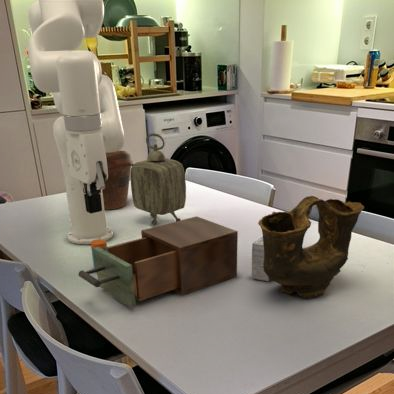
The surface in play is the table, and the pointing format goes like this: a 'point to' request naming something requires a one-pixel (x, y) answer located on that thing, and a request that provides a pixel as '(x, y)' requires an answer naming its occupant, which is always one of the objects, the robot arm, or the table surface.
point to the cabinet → (199, 251)
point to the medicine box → (258, 261)
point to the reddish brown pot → (117, 179)
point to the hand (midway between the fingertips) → (94, 211)
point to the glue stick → (97, 243)
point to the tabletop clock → (158, 183)
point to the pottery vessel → (313, 255)
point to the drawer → (135, 270)
